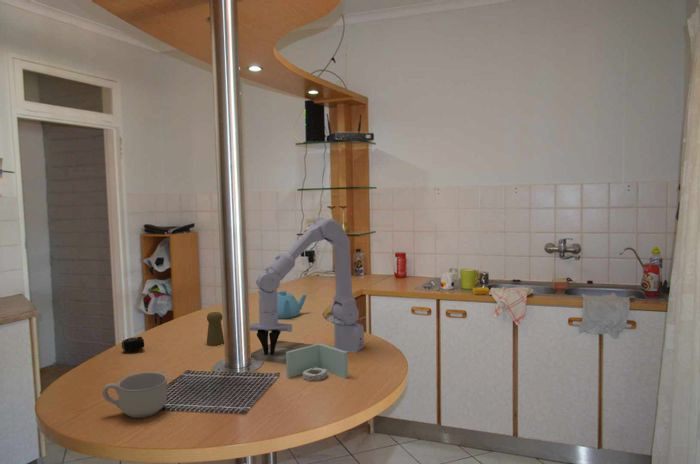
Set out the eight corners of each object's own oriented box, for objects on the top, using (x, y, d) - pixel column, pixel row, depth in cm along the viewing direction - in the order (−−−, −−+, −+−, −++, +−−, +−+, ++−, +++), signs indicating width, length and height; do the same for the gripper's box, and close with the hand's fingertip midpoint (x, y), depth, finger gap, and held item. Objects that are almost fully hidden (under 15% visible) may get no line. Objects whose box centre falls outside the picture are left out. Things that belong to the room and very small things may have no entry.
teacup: (174, 403, 126) (173, 371, 125) (159, 422, 115) (158, 387, 114) (116, 404, 125) (115, 372, 125) (96, 424, 114) (94, 388, 114)
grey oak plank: (314, 356, 162) (314, 351, 162) (298, 366, 153) (298, 361, 152) (266, 350, 169) (266, 345, 169) (248, 359, 160) (248, 354, 160)
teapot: (279, 310, 230) (278, 286, 230) (308, 313, 224) (307, 289, 223) (258, 318, 217) (257, 292, 216) (288, 321, 210) (287, 295, 209)
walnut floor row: (325, 350, 168) (325, 345, 168) (315, 356, 162) (315, 351, 162) (278, 344, 175) (278, 340, 175) (267, 350, 169) (267, 345, 169)
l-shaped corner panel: (286, 378, 142) (286, 352, 142) (320, 368, 150) (319, 343, 150) (313, 390, 133) (312, 361, 133) (347, 378, 142) (347, 352, 141)
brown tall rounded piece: (226, 341, 180) (226, 310, 180) (220, 346, 174) (219, 314, 174) (210, 341, 181) (209, 310, 180) (203, 346, 175) (202, 314, 174)
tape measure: (145, 349, 169) (143, 338, 168) (122, 354, 166) (121, 343, 166) (144, 345, 175) (143, 334, 175) (122, 350, 172) (121, 339, 172)
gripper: (294, 308, 163) (295, 350, 163) (249, 307, 164) (250, 349, 165) (288, 313, 156) (289, 357, 156) (242, 312, 157) (243, 356, 158)
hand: (269, 353), depth 160 cm, fingers closed, pressing on grey oak plank
